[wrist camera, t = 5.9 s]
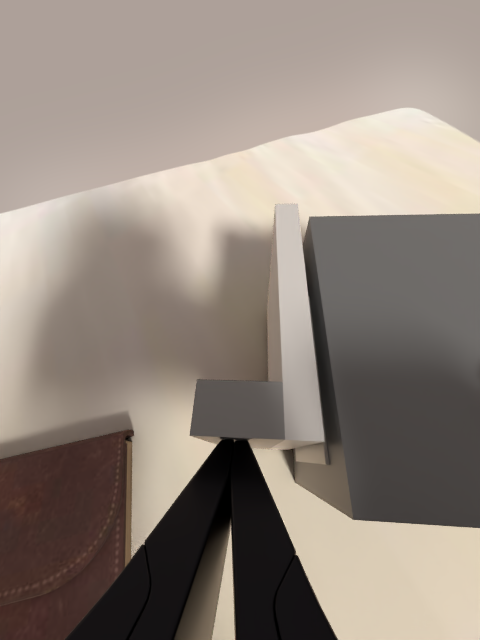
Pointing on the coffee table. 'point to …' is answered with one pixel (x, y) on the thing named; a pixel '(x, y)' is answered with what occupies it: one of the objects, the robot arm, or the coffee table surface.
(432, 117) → the coffee table surface
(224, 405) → the door
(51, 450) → the notebook
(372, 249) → the block
